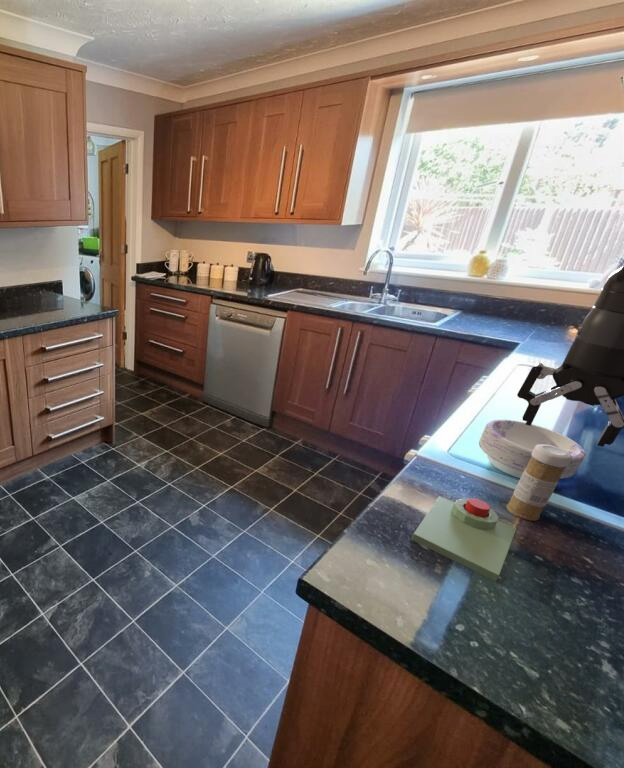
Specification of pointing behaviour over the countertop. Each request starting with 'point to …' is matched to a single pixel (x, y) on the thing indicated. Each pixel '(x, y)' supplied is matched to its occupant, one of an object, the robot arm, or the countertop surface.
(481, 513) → the button
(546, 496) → the sprinkles bottle
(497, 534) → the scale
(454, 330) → the countertop surface
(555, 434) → the paper bowls
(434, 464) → the countertop surface
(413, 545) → the countertop surface
